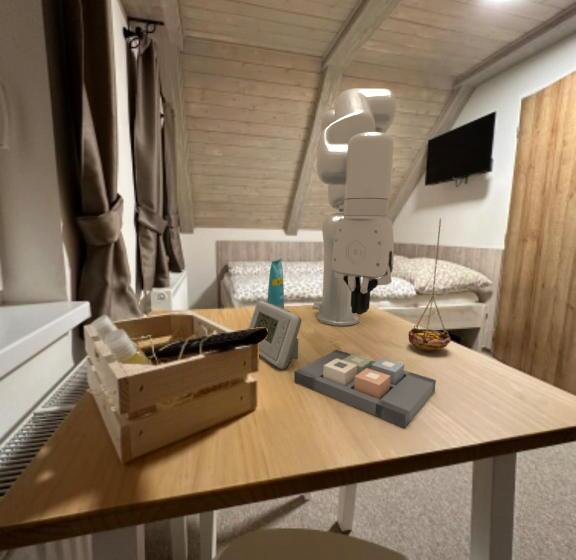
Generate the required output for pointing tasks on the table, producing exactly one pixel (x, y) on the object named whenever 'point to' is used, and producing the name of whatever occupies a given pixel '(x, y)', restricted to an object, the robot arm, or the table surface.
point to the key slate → (389, 369)
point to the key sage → (359, 362)
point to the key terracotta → (372, 383)
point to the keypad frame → (391, 407)
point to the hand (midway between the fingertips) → (359, 312)
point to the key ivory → (340, 371)
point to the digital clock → (277, 333)
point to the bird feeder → (428, 337)
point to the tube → (276, 284)
